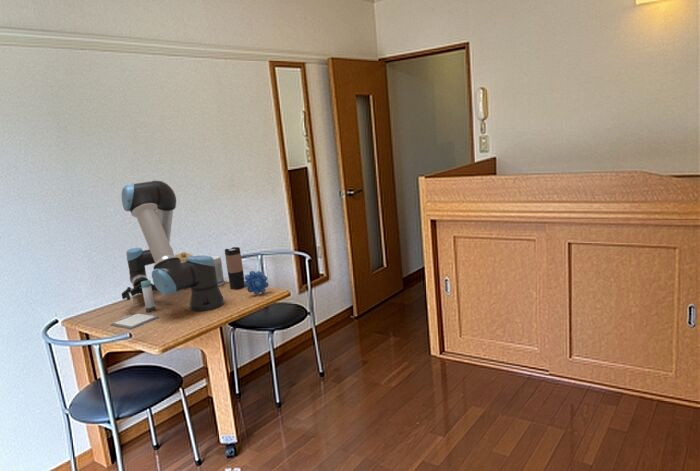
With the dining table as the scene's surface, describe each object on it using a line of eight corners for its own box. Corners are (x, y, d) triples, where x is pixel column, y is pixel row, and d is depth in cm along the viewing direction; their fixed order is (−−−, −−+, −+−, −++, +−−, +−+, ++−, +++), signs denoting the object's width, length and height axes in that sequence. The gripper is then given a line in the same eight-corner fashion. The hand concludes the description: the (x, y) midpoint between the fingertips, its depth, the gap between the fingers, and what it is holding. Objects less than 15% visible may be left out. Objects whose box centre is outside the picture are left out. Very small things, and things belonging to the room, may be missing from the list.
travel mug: (241, 289, 260) (236, 250, 256) (227, 290, 262) (221, 251, 258) (247, 284, 267) (242, 246, 264) (233, 285, 269) (228, 247, 265)
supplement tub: (203, 288, 269) (199, 260, 266) (208, 283, 278) (204, 256, 275) (222, 286, 268) (218, 259, 265) (226, 281, 278) (222, 254, 275)
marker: (157, 309, 241) (152, 280, 238) (150, 312, 237) (144, 283, 235) (151, 308, 243) (146, 279, 240) (144, 311, 240) (138, 282, 237)
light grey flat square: (158, 317, 230) (158, 314, 230) (131, 329, 218) (130, 326, 218) (138, 314, 237) (138, 311, 237) (110, 325, 226) (110, 322, 225)
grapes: (248, 299, 243) (244, 274, 240) (244, 296, 249) (240, 271, 246) (272, 294, 248) (269, 269, 245) (267, 290, 254) (264, 266, 251)
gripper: (169, 286, 261) (177, 297, 243) (115, 297, 250) (119, 310, 232) (166, 271, 260) (175, 282, 241) (112, 282, 248) (116, 294, 230)
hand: (147, 296), depth 237 cm, fingers open, 13 cm apart
